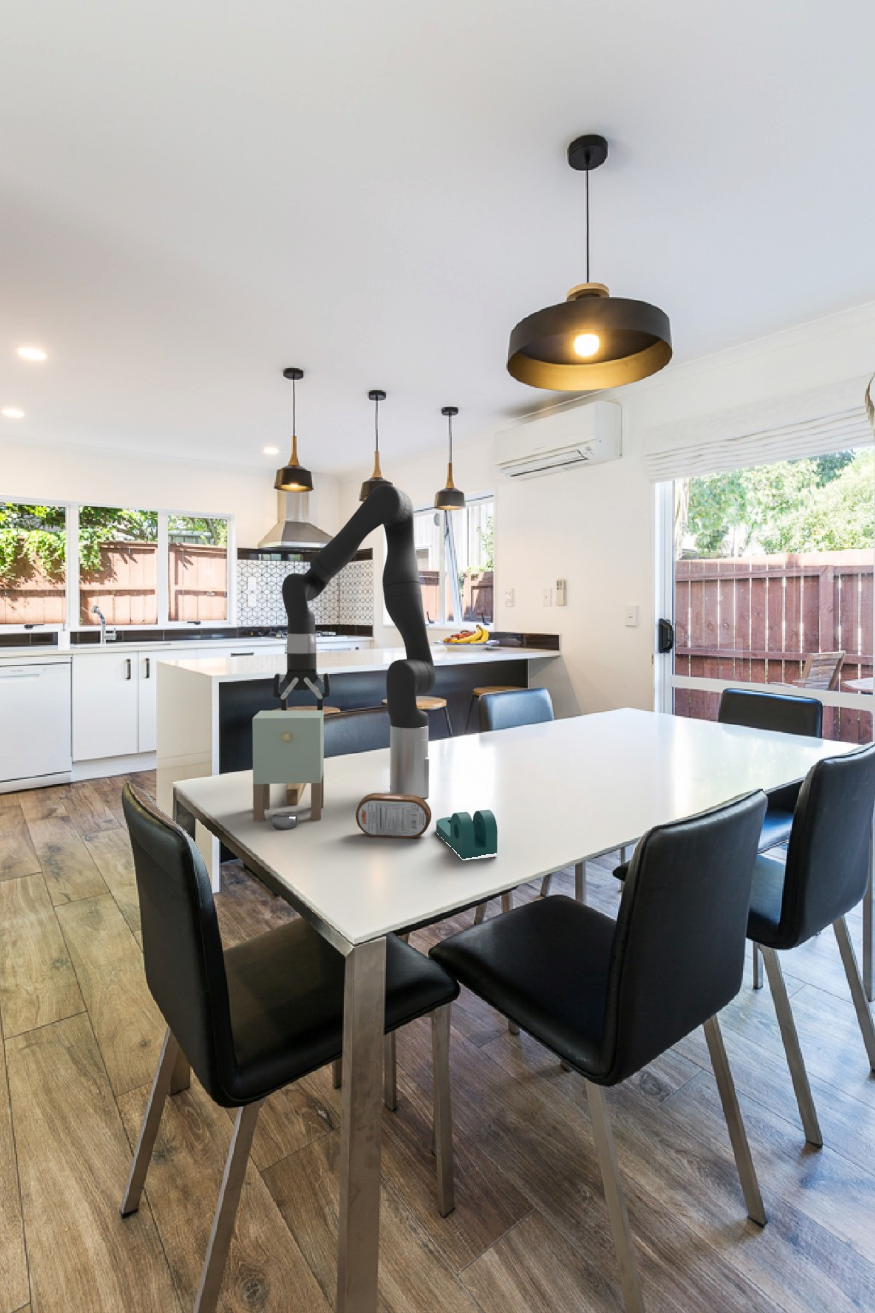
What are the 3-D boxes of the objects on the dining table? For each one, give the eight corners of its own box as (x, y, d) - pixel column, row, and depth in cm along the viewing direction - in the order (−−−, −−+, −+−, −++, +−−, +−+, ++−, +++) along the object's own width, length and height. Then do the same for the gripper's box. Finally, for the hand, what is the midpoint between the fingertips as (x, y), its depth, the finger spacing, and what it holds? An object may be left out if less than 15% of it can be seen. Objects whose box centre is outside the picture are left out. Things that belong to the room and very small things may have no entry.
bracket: (497, 858, 117) (497, 816, 116) (462, 862, 115) (463, 819, 114) (462, 826, 134) (462, 789, 133) (431, 829, 132) (432, 792, 131)
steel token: (299, 822, 135) (299, 811, 135) (295, 830, 130) (295, 819, 130) (275, 822, 134) (275, 811, 134) (270, 830, 129) (270, 819, 129)
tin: (431, 835, 128) (431, 794, 127) (429, 841, 125) (430, 798, 124) (357, 832, 129) (357, 791, 129) (354, 837, 126) (354, 795, 125)
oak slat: (308, 779, 170) (308, 764, 169) (297, 806, 146) (297, 789, 146) (299, 779, 170) (299, 764, 169) (286, 806, 146) (286, 789, 146)
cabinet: (323, 805, 146) (323, 710, 144) (320, 821, 135) (320, 718, 133) (261, 807, 144) (260, 710, 143) (252, 823, 133) (251, 719, 132)
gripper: (330, 650, 170) (330, 710, 171) (275, 650, 168) (276, 711, 169) (328, 652, 162) (329, 715, 163) (271, 652, 161) (272, 715, 162)
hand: (302, 713), depth 166 cm, fingers open, 8 cm apart
